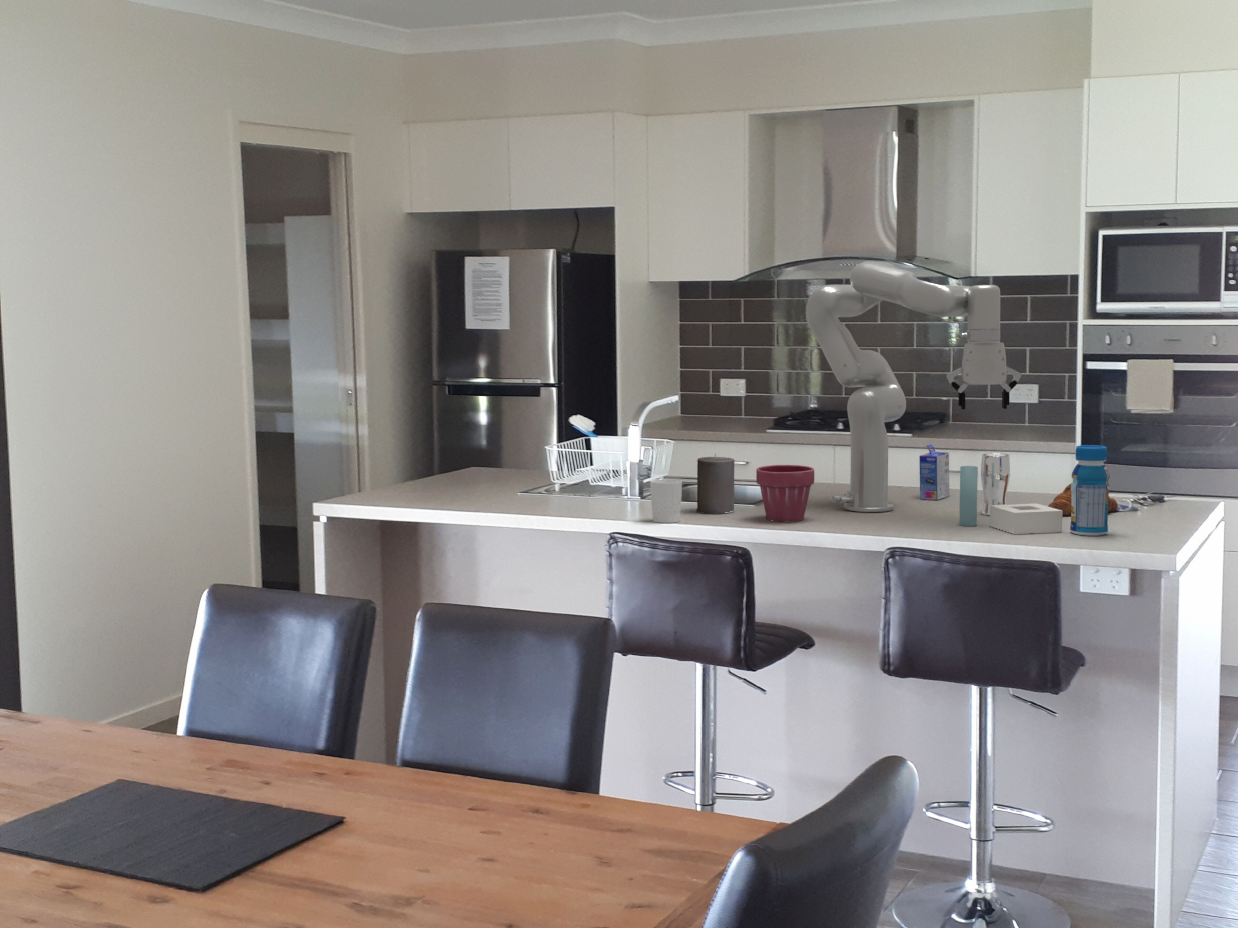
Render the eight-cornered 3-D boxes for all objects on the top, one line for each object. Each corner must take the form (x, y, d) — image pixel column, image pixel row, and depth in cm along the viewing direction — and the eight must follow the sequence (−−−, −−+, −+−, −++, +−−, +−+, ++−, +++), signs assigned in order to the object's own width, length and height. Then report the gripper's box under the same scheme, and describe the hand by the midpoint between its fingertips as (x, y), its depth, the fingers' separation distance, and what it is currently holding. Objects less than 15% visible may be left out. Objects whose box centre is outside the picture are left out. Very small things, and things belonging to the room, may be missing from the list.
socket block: (1013, 534, 305) (1014, 512, 304) (989, 526, 316) (989, 505, 316) (1062, 532, 307) (1062, 510, 306) (1035, 524, 319) (1036, 503, 318)
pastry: (1055, 507, 346) (1056, 476, 345) (1118, 510, 340) (1119, 479, 339) (1046, 516, 331) (1046, 484, 330) (1111, 520, 325) (1112, 487, 324)
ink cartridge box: (930, 494, 370) (931, 443, 369) (950, 496, 367) (950, 443, 366) (918, 499, 362) (918, 446, 360) (937, 500, 359) (938, 447, 357)
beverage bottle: (1087, 537, 300) (1090, 449, 297) (1061, 532, 307) (1063, 445, 305) (1116, 534, 303) (1119, 447, 301) (1089, 529, 311) (1092, 443, 308)
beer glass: (1010, 516, 331) (1011, 456, 329) (981, 515, 332) (982, 456, 330) (1007, 512, 338) (1009, 453, 336) (979, 511, 339) (980, 453, 337)
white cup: (648, 519, 333) (648, 479, 332) (680, 518, 334) (680, 478, 333) (652, 524, 325) (652, 483, 324) (684, 523, 326) (684, 482, 325)
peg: (963, 526, 316) (965, 468, 315) (956, 524, 320) (957, 466, 318) (979, 526, 317) (980, 467, 315) (971, 523, 321) (973, 465, 319)
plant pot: (780, 525, 321) (780, 472, 319) (744, 518, 333) (744, 467, 331) (825, 520, 328) (826, 468, 327) (789, 513, 340) (789, 463, 339)
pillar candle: (689, 511, 344) (689, 454, 342) (712, 507, 351) (713, 450, 349) (718, 515, 338) (718, 457, 336) (742, 511, 345) (742, 453, 343)
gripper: (948, 338, 316) (948, 410, 317) (1023, 336, 313) (1023, 409, 315) (945, 338, 323) (945, 408, 325) (1018, 336, 320) (1018, 407, 322)
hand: (983, 408), depth 320 cm, fingers open, 9 cm apart
